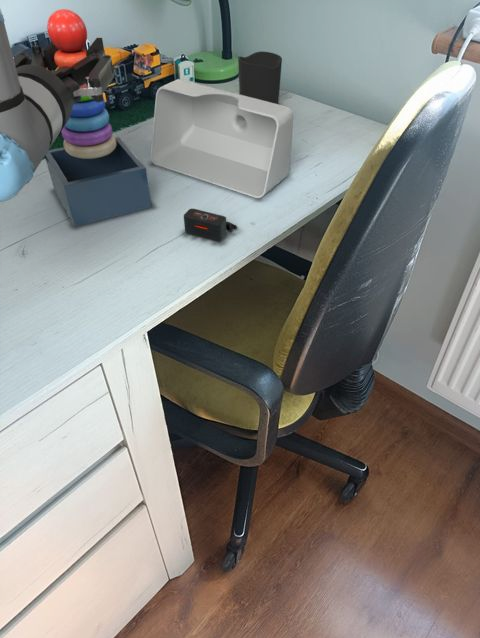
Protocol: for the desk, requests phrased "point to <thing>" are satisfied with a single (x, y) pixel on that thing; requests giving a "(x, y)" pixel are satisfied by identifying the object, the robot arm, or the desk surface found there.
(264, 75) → the pen holder
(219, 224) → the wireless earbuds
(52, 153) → the square holder
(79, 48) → the stacking toy
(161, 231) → the desk surface
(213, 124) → the light grey open box
